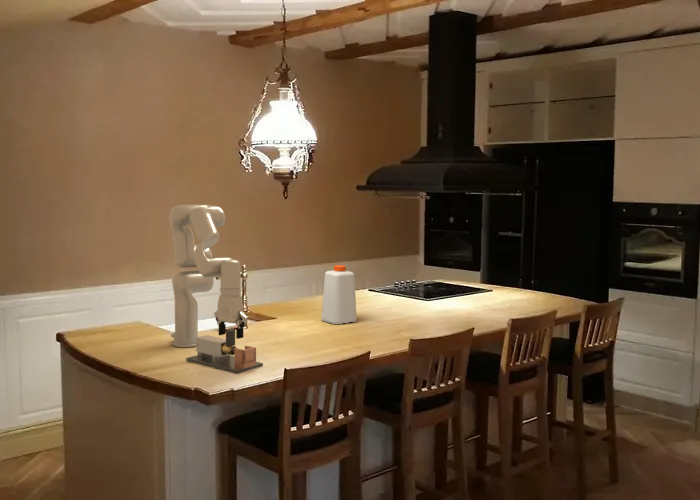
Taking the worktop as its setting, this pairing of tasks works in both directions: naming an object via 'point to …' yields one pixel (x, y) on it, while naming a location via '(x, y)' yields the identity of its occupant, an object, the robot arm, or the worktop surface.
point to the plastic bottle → (339, 296)
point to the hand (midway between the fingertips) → (230, 336)
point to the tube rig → (223, 356)
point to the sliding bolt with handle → (229, 342)
